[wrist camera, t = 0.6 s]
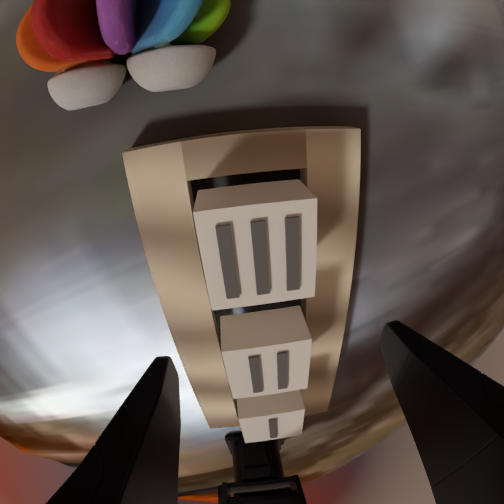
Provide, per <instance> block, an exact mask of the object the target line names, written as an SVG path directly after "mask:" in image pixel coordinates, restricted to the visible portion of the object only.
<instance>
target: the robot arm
mask: <svg viewBox="0 0 504 504" xmlns="http://www.w3.org/2000/svg"><path fill="white" fill-rule="evenodd" d="M380 348H381V352H382V355H383V358H384V361H385V364H386V367H387V370H388V374H389V377H390V380H391V383H392V386H393V389H394V391H395V394H396V396H397V399H398V401H399V403H400V406H401V408H402V411H403V413H404V415H405V418H406V420H407V423H408V425H409V428H410V430H411V433H412V435H413V438H414V441H415V443H416V446H417V449H418V451H419V454H420V457H421V459H422V462H423V465H424V468H425V470H426V473H427V476H428V479H429V482H430V485H431V489H432V492H433V495H434V498H435V501H436V504H504V386H502V385H501V384H499V383H497V382H496V381H494V380H492V379H491V378H489V377H488V376H486V375H484V374H481V372H480V371H478V370H477V369H475V368H473V367H472V366H470V365H469V364H467V363H466V362H464V361H462V360H461V359H459V358H458V357H456V356H454V355H453V354H451V353H450V352H448V351H446V350H445V349H443V348H442V347H440V346H438V345H437V344H435V343H434V342H432V341H430V340H429V339H427V338H426V337H424V336H422V335H421V334H419V333H417V332H416V331H414V330H413V329H411V328H409V327H408V326H406V325H404V324H403V323H401V322H399V321H391V322H388V323H386V324H385V325H384V328H383V332H382V335H381V339H380ZM180 430H181V419H180V399H179V378H178V373H177V371H176V369H175V366H174V364H173V362H172V359H171V358H170V357H169V356H162V357H156V358H155V359H154V361H153V362H152V363H151V365H150V366H149V368H148V369H147V370H146V372H145V373H144V375H143V376H142V377H141V379H140V380H139V381H138V383H137V384H136V386H135V387H134V389H133V390H132V391H131V393H130V394H129V396H128V397H127V398H126V400H125V401H124V403H123V404H122V405H121V407H120V408H119V410H118V411H117V413H116V414H115V415H114V417H113V418H112V420H111V421H110V422H109V424H108V425H107V427H106V428H105V430H104V431H103V432H102V434H101V435H100V437H99V438H98V440H97V441H96V443H95V445H93V447H92V448H91V450H90V451H89V452H88V454H87V455H86V457H85V458H84V459H83V461H82V462H81V463H80V465H79V466H78V467H77V469H76V470H75V471H74V472H73V473H72V475H71V476H70V477H69V478H68V479H67V480H66V482H65V483H64V484H63V485H62V486H61V487H60V488H59V489H58V491H57V492H56V493H55V494H54V495H53V496H52V497H51V498H50V499H49V500H48V502H47V503H46V504H177V501H178V468H179V447H180ZM225 440H226V443H227V445H228V447H229V450H230V452H231V454H232V456H233V467H234V478H235V483H227V482H222V485H220V486H218V504H307V503H306V499H305V496H304V493H303V490H302V486H301V483H300V480H299V476H298V475H293V476H290V477H284V474H283V468H282V463H281V457H280V452H279V450H281V438H280V439H274V440H267V441H260V442H251V443H245V441H244V437H243V434H235V435H226V436H225ZM231 495H234V497H231Z"/></svg>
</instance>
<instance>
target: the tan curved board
mask: <svg viewBox="0 0 504 504" xmlns="http://www.w3.org/2000/svg"><path fill="white" fill-rule="evenodd" d="M122 154H123V159H124V165H125V170H126V175H127V180H128V184H129V189H130V193H131V198H132V202H133V207H134V211H135V215H136V219H137V223H138V227H139V231H140V235H141V239H142V242H143V246H144V250H145V253H146V257H147V260H148V264H149V267H150V271H151V274H152V277H153V281H154V284H155V287H156V290H157V293H158V297H159V300H160V303H161V306H162V309H163V312H164V315H165V318H166V320H167V323H168V326H169V329H170V332H171V335H172V337H173V340H174V343H175V345H176V348H177V351H178V353H179V356H180V359H181V361H182V364H183V366H184V369H185V371H186V374H187V376H188V379H189V381H190V384H191V386H192V388H193V391H194V393H195V395H196V398H197V400H198V402H199V405H200V407H201V409H202V411H203V414H204V416H205V418H206V420H207V422H208V424H209V427H210V428H223V427H235V426H240V423H239V419H238V409H237V405H236V402H235V399H233V397H232V393H231V389H230V385H229V381H228V377H227V373H226V369H225V365H224V361H223V357H222V352H221V339H220V335H219V330H218V326H217V321H216V316H215V312H214V310H212V308H211V304H210V299H209V294H208V289H207V284H206V280H205V275H204V270H203V265H202V259H201V254H200V249H199V244H198V238H197V233H196V227H195V221H194V216H193V209H194V199H193V193H192V187H191V180H197V179H204V178H212V177H219V176H227V175H236V174H245V173H254V172H265V171H276V170H287V169H300V181H301V182H302V183H303V184H304V185H305V186H306V187H307V188H308V189H309V190H310V191H311V192H312V193H313V194H314V195H315V196H316V197H317V252H316V280H315V297H309V298H303V299H301V310H302V313H303V316H304V319H305V321H306V324H307V327H308V329H309V332H310V335H311V338H312V344H311V356H310V367H309V377H308V387H307V388H306V389H300V392H301V396H302V400H303V404H304V407H305V413H304V416H309V415H313V414H318V413H323V412H327V411H328V407H329V403H330V399H331V395H332V390H333V386H334V381H335V377H336V372H337V367H338V362H339V357H340V352H341V347H342V341H343V336H344V330H345V324H346V318H347V311H348V305H349V298H350V290H351V283H352V275H353V266H354V257H355V247H356V236H357V224H358V209H359V191H360V161H361V129H359V128H355V127H351V126H303V127H282V128H267V129H254V130H243V131H233V132H224V133H216V134H208V135H201V136H194V137H188V138H181V139H175V140H169V141H164V142H158V143H153V144H148V145H143V146H138V147H134V148H130V149H128V150H126V151H125V152H123V153H122Z"/></svg>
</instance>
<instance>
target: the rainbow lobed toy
mask: <svg viewBox="0 0 504 504" xmlns="http://www.w3.org/2000/svg"><path fill="white" fill-rule="evenodd" d="M230 5H231V4H230V0H34V3H33V5H32V6H31V7H30V8H29V9H28V11H27V12H26V13H25V15H24V17H23V18H22V20H21V22H20V25H19V27H18V30H17V35H16V43H17V48H18V51H19V53H20V55H21V57H22V58H23V59H24V61H25V62H26V63H27V64H29V65H30V66H31V67H33V68H36V69H38V70H41V71H46V72H56V74H55V76H53V77H52V78H51V79H50V80H49V81H48V85H47V86H48V90H49V93H50V95H51V97H52V98H53V100H54V101H55V102H56V103H57V104H58V105H59V106H61V107H62V108H64V109H66V110H76V109H81V108H85V107H90V106H94V105H99V104H103V103H106V102H108V101H109V100H110V99H111V98H112V97H113V96H114V95H115V94H116V93H117V91H118V90H119V88H120V87H121V85H122V83H123V80H124V78H125V75H126V69H127V68H128V70H129V73H130V75H131V76H132V78H133V79H134V80H135V81H136V82H137V83H138V84H139V85H140V86H141V87H143V88H145V89H147V90H149V91H152V92H160V91H169V90H177V89H184V88H190V87H193V86H195V85H196V84H198V83H199V82H200V81H201V80H202V79H203V78H204V77H205V76H206V75H207V74H208V73H209V71H210V70H211V68H212V66H213V63H214V60H215V56H216V50H215V48H213V47H210V46H205V45H197V44H200V43H202V42H204V41H205V40H206V39H207V38H208V37H209V36H211V35H212V34H213V33H214V32H215V31H216V30H217V29H218V28H219V27H220V26H221V25H222V23H223V22H224V20H225V19H226V17H227V15H228V13H229V10H230ZM128 52H132V53H133V54H132V56H131V57H129V58H128V59H127V68H126V67H125V66H124V65H122V64H115V63H111V62H110V60H114V59H116V57H117V55H118V54H120V55H124V54H126V53H128Z"/></svg>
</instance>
